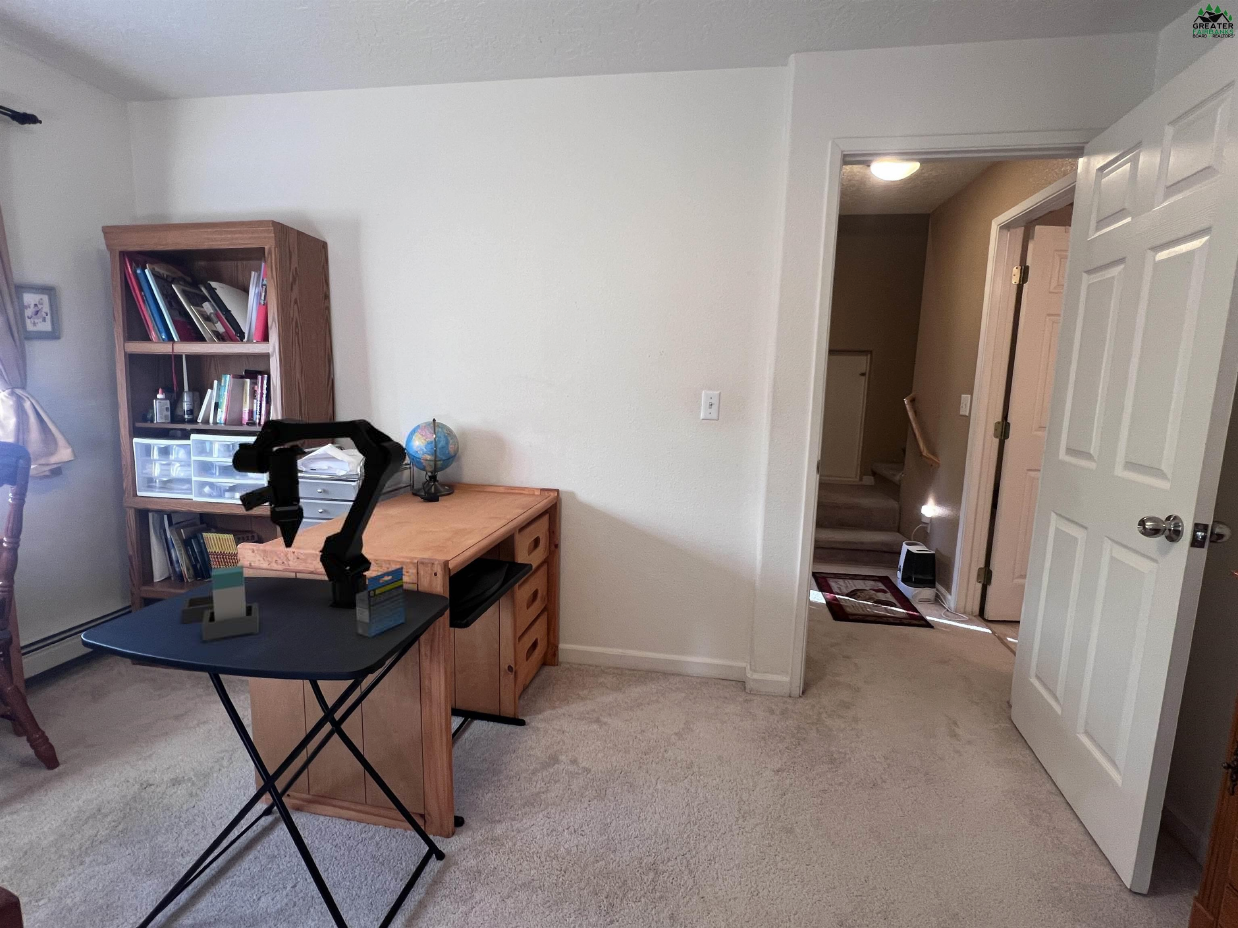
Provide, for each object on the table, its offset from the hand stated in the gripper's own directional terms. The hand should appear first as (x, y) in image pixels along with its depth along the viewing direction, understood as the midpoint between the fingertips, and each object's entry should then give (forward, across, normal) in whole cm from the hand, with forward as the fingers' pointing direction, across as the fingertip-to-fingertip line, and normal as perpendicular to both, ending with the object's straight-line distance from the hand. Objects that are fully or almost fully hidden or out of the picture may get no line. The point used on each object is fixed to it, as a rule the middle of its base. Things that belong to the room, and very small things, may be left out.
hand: (287, 542), depth 131 cm
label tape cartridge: (+13, +27, +15) cm, 34 cm away
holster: (+13, +3, -15) cm, 20 cm away
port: (+13, +14, -11) cm, 22 cm away
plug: (+12, +14, -11) cm, 22 cm away
